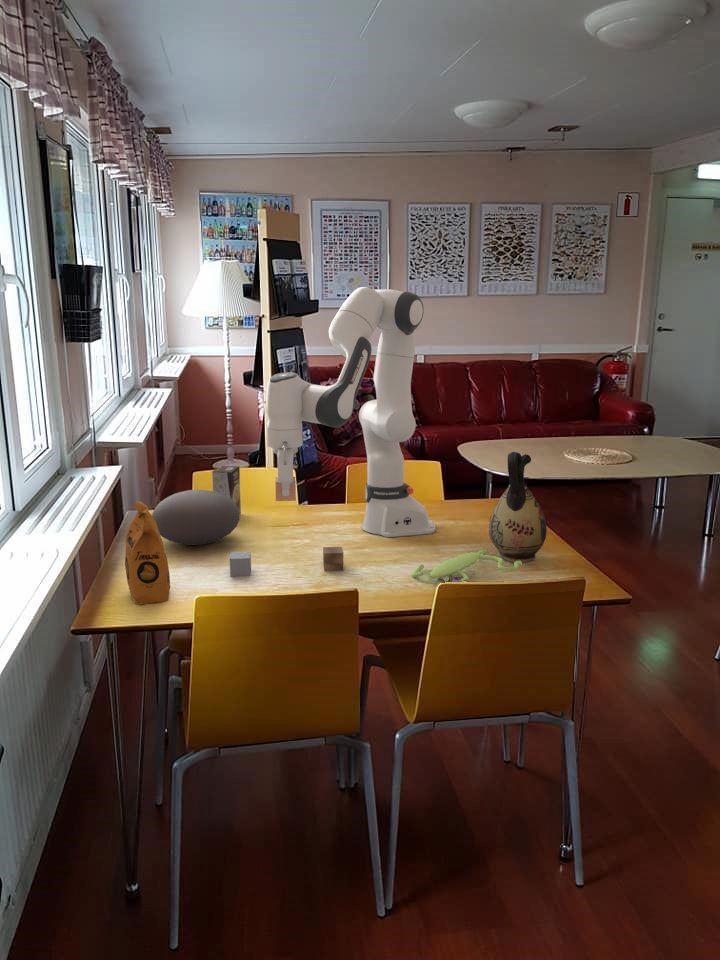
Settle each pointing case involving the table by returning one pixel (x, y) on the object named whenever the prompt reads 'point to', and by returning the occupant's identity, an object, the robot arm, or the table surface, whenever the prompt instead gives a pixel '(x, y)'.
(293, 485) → the terracotta block
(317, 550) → the table surface
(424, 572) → the figurine
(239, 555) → the slate block
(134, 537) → the coffee package
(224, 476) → the coffee box
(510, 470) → the ceramic jug
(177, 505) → the flattened ellipsoid
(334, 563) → the walnut block
